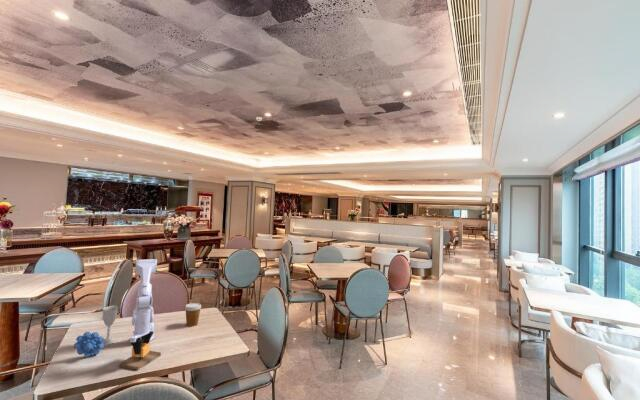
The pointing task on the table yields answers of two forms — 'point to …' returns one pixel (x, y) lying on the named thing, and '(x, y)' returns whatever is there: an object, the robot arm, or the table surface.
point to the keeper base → (139, 360)
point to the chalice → (109, 321)
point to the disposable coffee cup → (192, 313)
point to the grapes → (89, 344)
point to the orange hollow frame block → (142, 350)
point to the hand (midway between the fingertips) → (141, 351)
